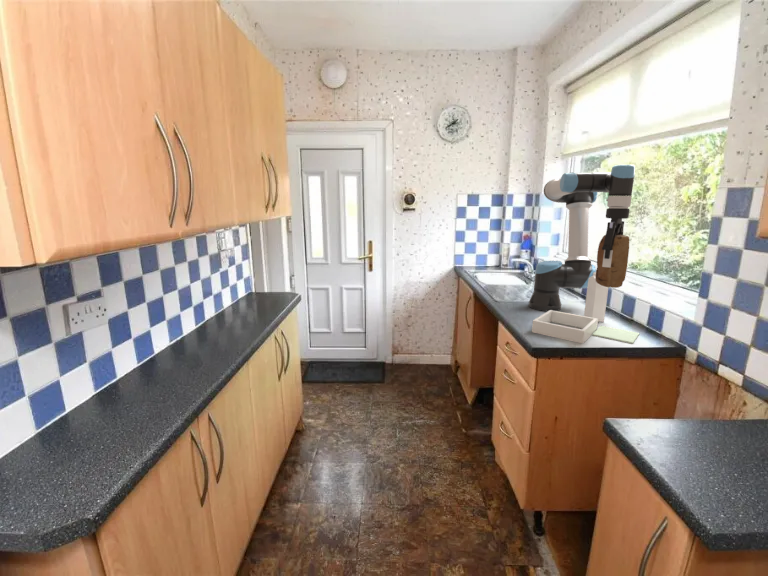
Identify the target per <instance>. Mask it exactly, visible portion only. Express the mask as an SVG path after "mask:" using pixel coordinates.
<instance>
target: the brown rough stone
mask: <svg viewBox="0 0 768 576" xmlns="http://www.w3.org/2000/svg"><path fill="white" fill-rule="evenodd" d="M605 236H606V234H605V235H603V236H602V237H601V239H600V241H599V244H598V248H597V254H596V266H597V267H596V282H597V283H598V284H600V285H602V286H605V287H609V288H613V289H614V288H615V289H616V288H618V289H619V288H621V287H623V283H624V281H625V280H626V275H627V270H628V262H629V254H630V252H629V251H630V236H628V235H624V234H623V235H616V236H615V238H614V244H613V248H612V250H613V253H612V261H611V267H610V268H609V267H602V264H603V256H604V250H602V247H603V245H604V240H605Z"/></svg>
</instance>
